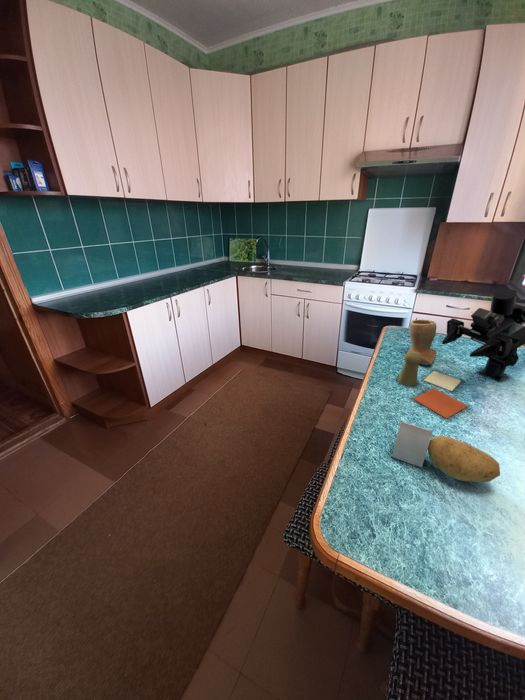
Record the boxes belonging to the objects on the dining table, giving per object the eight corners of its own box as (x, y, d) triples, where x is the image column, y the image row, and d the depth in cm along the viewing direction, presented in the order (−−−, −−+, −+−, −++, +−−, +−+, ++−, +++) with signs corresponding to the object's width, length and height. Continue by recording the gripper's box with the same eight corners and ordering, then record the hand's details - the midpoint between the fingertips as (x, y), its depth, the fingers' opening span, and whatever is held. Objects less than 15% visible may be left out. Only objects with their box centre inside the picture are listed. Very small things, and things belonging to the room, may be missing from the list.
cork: (418, 386, 99) (426, 358, 94) (399, 385, 100) (406, 357, 95) (414, 377, 104) (421, 350, 99) (396, 375, 105) (402, 349, 100)
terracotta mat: (433, 389, 98) (433, 388, 98) (467, 406, 89) (467, 405, 89) (412, 399, 93) (412, 398, 93) (446, 419, 85) (446, 418, 84)
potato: (490, 504, 61) (504, 478, 57) (418, 471, 69) (426, 446, 65) (493, 473, 68) (506, 448, 64) (427, 446, 75) (435, 422, 72)
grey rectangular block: (421, 467, 69) (432, 436, 65) (391, 456, 73) (399, 426, 68) (423, 457, 72) (433, 426, 68) (394, 447, 75) (401, 417, 71)
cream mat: (433, 371, 108) (434, 370, 107) (461, 381, 101) (461, 380, 101) (423, 380, 102) (423, 379, 102) (451, 391, 96) (451, 390, 96)
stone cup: (407, 346, 126) (415, 313, 120) (438, 353, 120) (448, 319, 113) (397, 359, 116) (404, 324, 109) (429, 368, 109) (440, 332, 102)
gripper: (466, 296, 96) (430, 317, 93) (531, 314, 80) (489, 339, 78) (464, 324, 102) (430, 344, 99) (524, 346, 86) (485, 370, 84)
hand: (455, 348), depth 90 cm, fingers open, 9 cm apart
